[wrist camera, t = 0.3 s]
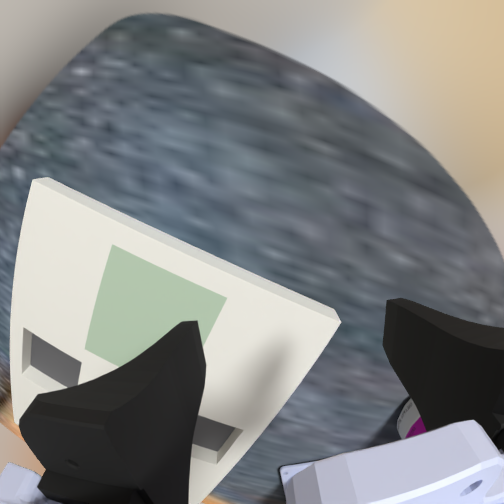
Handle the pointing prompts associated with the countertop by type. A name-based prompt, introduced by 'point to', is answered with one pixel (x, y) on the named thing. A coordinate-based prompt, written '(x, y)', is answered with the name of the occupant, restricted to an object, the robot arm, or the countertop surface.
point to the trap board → (154, 320)
